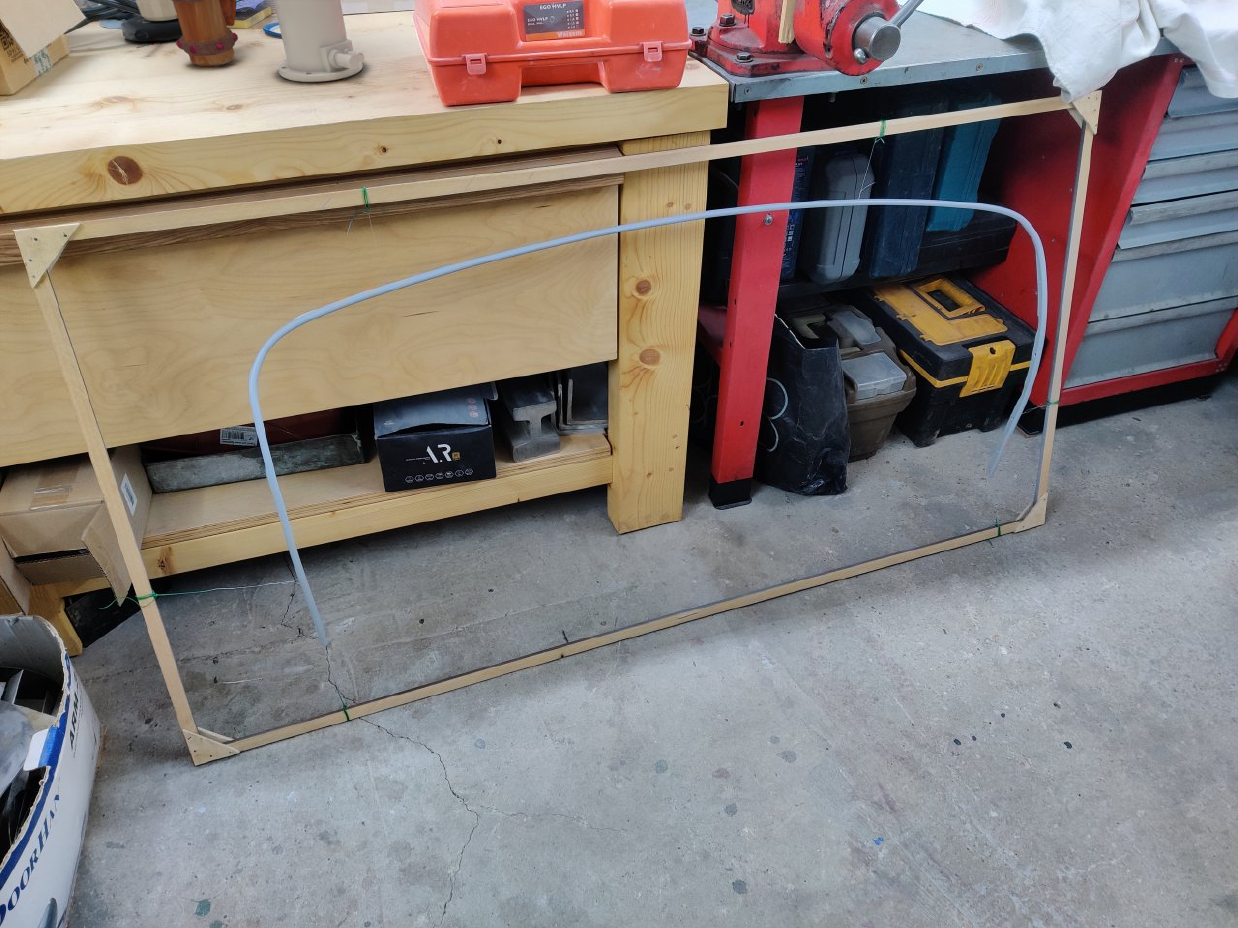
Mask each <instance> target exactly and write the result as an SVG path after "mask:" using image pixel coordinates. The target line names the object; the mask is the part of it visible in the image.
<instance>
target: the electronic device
mask: <svg viewBox="0 0 1238 928" xmlns="http://www.w3.org/2000/svg"><path fill="white" fill-rule="evenodd" d="M120 28H121V33H122V36H123V37H124V38H125V39H127V40H129V41H132V42H133V41H134V42H155V41H163V42H166V41H167V42H168V41H172V40H178V39H180V38H181V36H182V35H183V34H182V30H181V27H180V23H179V20H178V18H177V19H172V20H165V21H150V20H146V19H144V17H142V16H141V15H140V16H135V17H132V18H129V19H127V20H125V21H123V22H122V23H121V24H120Z"/></svg>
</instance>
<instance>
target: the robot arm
mask: <svg viewBox="0 0 1238 928" xmlns="http://www.w3.org/2000/svg"><path fill="white" fill-rule="evenodd" d="M273 4H274V8H275V14H276V16H277V22H278V26H279V30H280V35H281V40H282V44H283V49H284V53H285V56H286V59H284V60H283V61H281V62H280V63H279V65H278V67H277V68H278V73H279V75H280V76H281V77H282V78H284V79H286V80H290V81H294V82H300V83H301V82H305V83H318V82H319V83H320V82H329V81H336V80H340V79H346V78H349V77H351V76H354V75H356V74H358V73H360V71H361V70H362V69H363V62H364V61H365V55H364V53H362V52H360V51H354V46H353V41H352V39H348V35H347V30H346V23H345V19H344V15H343V8H342V3H341V0H273Z"/></svg>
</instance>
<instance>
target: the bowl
mask: <svg viewBox="0 0 1238 928" xmlns="http://www.w3.org/2000/svg"><path fill="white" fill-rule="evenodd" d="M135 2H136V5H137V9H138V12H139V15H140V16H142V17H144V19H146V20H150V21H165V20H172V19H177V18H178V16H177V13H176V10H175V7H174V3H173V1H171V0H135Z"/></svg>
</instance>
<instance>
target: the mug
mask: <svg viewBox="0 0 1238 928" xmlns="http://www.w3.org/2000/svg"><path fill="white" fill-rule="evenodd" d="M171 1H173V3H174V7H175V10H176V13H177V16H178V20H179V23H180V27H181V30H182V34H183V35H182V36H181V38H178V39H176V41H175V45H176V47H178V49H180V50H182V51H183V52H185V53H186V54H187V55H188V56H189V60H190V62H191V63H192V64H193V65H196V66H199V67H218V66H223V65H226V64H228V63H230V62H231V61H232V60H233V59H234V58H235V49H234V46H235V45H236V42H237V41H238V40H239V36H238V34H237V33H236V32H233V31H232V29H231V28H229V27H234V26H235V22H236V16H237V15H236V13H237V0H171Z"/></svg>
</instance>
